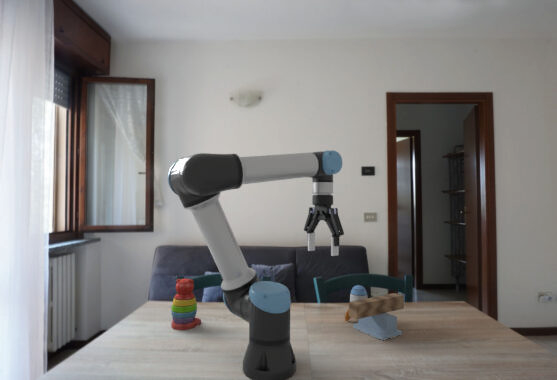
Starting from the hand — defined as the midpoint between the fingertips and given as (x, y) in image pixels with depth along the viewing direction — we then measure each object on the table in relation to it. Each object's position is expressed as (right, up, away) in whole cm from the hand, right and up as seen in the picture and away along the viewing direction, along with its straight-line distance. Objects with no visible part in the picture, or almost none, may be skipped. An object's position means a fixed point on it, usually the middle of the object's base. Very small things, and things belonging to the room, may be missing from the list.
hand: (322, 253), depth 130 cm
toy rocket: (+15, -30, +13) cm, 35 cm away
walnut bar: (+20, -22, +1) cm, 30 cm away
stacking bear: (-52, -29, +6) cm, 59 cm away
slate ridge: (+20, -29, +1) cm, 35 cm away
